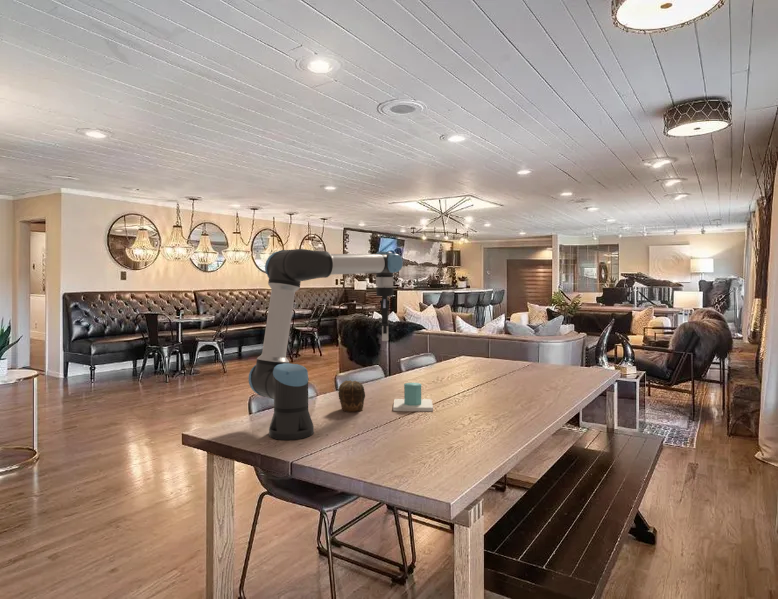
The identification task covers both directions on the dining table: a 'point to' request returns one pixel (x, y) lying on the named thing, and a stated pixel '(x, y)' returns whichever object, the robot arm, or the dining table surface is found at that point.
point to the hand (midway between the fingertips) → (385, 340)
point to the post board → (425, 405)
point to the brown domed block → (351, 396)
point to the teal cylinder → (412, 394)
